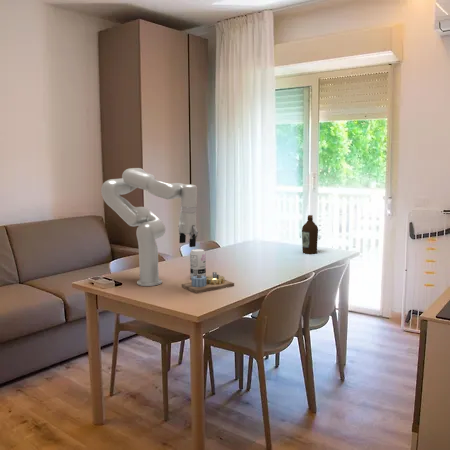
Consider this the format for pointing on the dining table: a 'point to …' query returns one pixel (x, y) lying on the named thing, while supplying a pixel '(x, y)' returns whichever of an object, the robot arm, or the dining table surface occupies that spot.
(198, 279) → the blue gear
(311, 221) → the olive oil
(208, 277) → the brass drive gear
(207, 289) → the gear board
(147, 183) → the robot arm
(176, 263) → the dining table surface
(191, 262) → the supplement can
